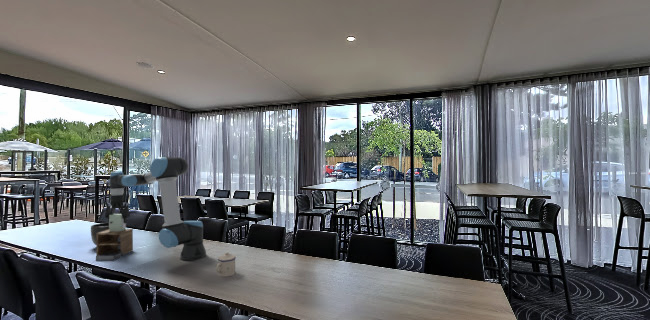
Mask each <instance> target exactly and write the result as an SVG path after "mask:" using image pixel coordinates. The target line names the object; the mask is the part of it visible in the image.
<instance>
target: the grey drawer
mask: <svg viewBox="0 0 650 320" xmlns="http://www.w3.org/2000/svg"><path fill="white" fill-rule="evenodd" d="M118 243H121V237H118ZM118 251H121V245H118ZM122 257H124V255H123V252H105V253H102V254H100V255H98V256H97V255H96V256H95V261H96V262H97V261H99V262H100V261H101V262H102V261H107V262H108V261H115V260H118V259H120V258H122Z"/></svg>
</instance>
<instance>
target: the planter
mask: <svg viewBox="0 0 650 320" xmlns="http://www.w3.org/2000/svg"><path fill="white" fill-rule="evenodd" d="M108 229H109V223H108V221H107V222H101V223H95V224H93V225H90V236H91V241H92V243H93V244H94V245H95V246H97V245H96V233H99V232H102V231H105V230H108Z"/></svg>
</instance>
